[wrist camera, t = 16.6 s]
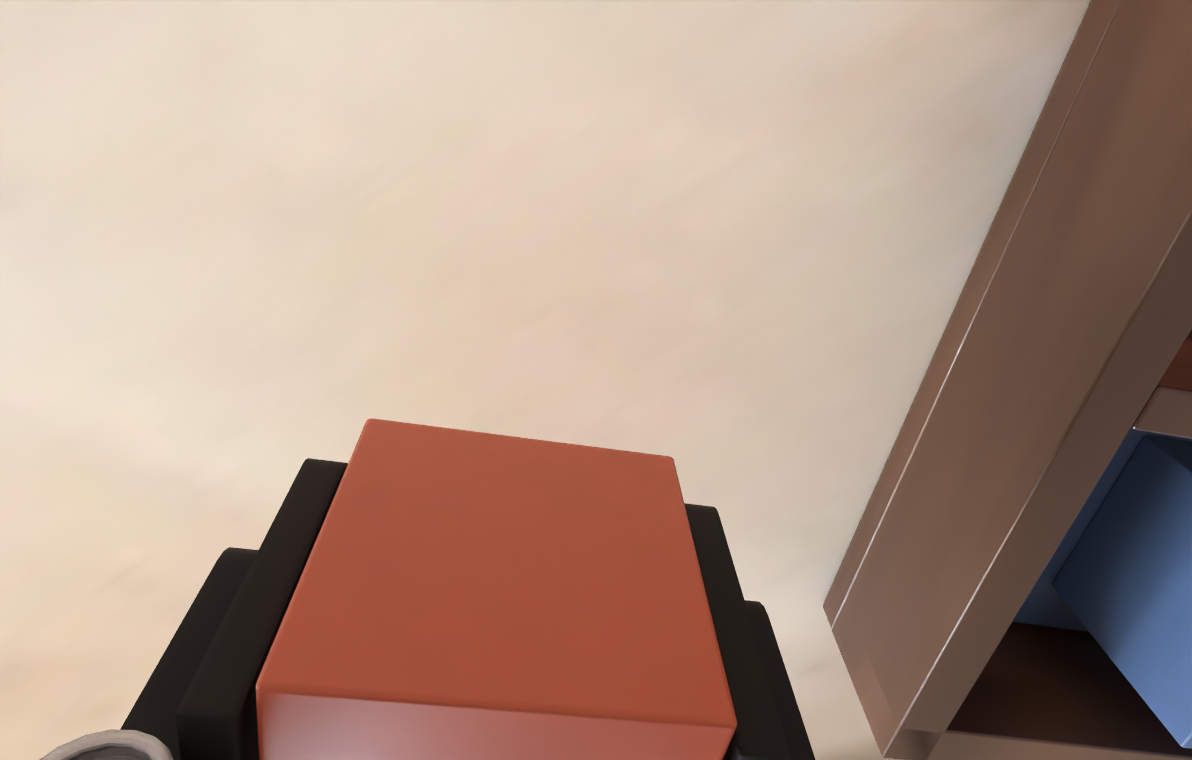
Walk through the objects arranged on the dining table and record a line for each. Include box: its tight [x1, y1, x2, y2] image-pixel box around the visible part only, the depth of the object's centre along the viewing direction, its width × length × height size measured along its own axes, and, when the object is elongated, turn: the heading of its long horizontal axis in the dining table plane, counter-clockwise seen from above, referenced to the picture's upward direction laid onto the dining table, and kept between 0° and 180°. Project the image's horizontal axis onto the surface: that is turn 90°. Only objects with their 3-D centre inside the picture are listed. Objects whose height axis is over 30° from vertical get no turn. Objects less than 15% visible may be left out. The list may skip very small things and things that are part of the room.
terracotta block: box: [256, 419, 737, 760], centre depth 9 cm, size 4×4×4 cm
